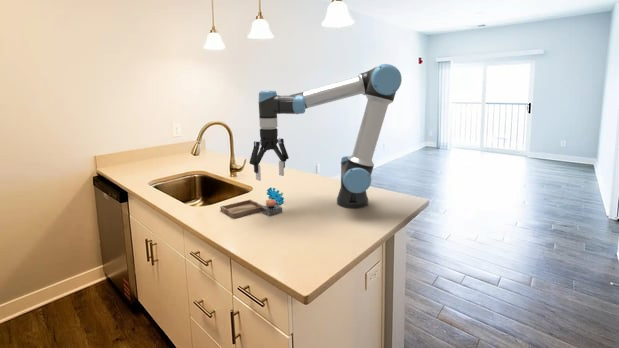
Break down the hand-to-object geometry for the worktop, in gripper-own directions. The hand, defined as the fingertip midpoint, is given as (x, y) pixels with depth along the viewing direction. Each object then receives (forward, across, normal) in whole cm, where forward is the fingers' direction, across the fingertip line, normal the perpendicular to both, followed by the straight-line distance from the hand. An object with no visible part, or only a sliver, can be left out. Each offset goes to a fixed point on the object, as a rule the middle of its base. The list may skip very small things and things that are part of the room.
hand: (270, 177), depth 153 cm
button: (+13, 0, 0) cm, 13 cm away
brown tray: (+16, +9, -10) cm, 21 cm away
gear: (+17, -9, -9) cm, 21 cm away
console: (+16, 0, 0) cm, 16 cm away
